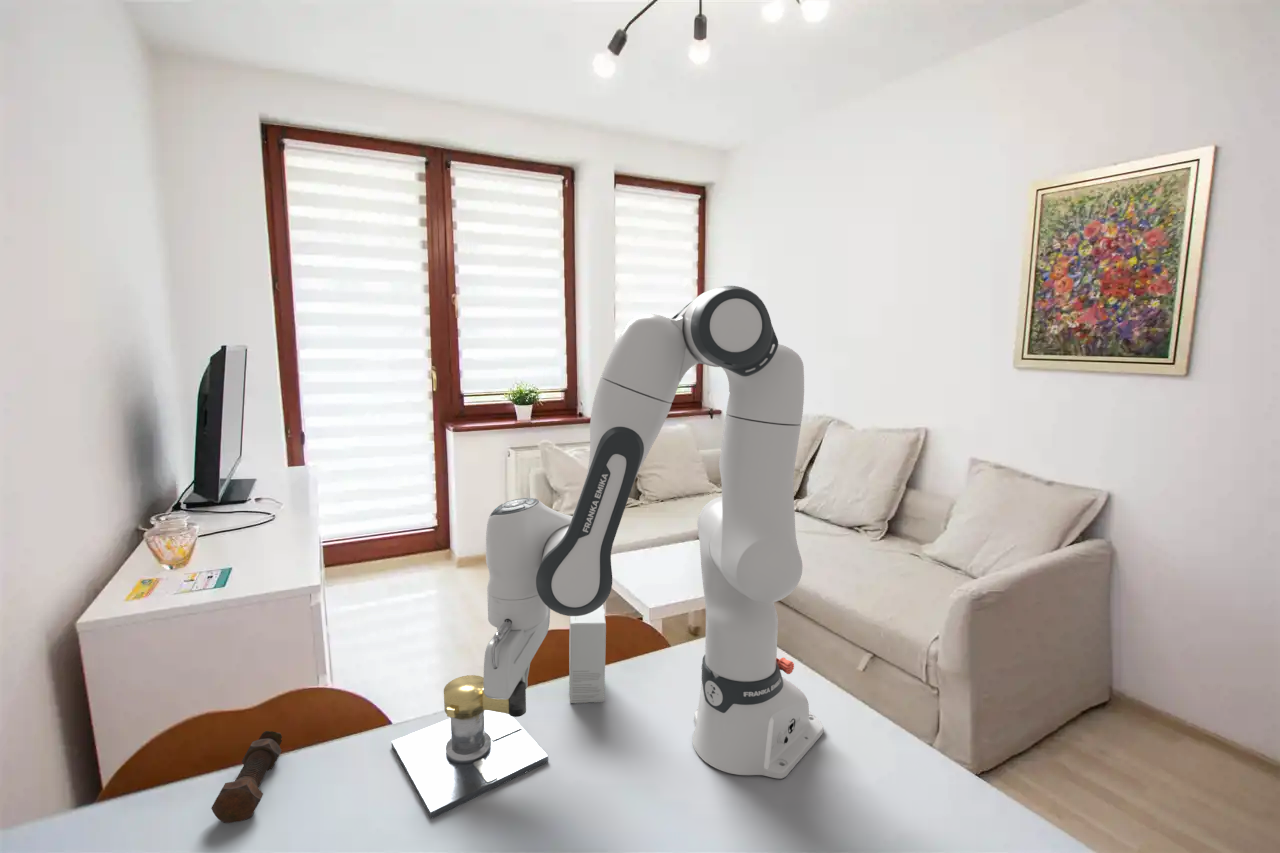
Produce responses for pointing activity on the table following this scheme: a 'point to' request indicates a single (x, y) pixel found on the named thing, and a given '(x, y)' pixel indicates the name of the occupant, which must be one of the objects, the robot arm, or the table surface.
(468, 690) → the brass faucet handle
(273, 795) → the table surface
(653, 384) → the robot arm
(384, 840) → the table surface
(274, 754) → the bolt
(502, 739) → the slotted metal plate
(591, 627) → the skincare box
